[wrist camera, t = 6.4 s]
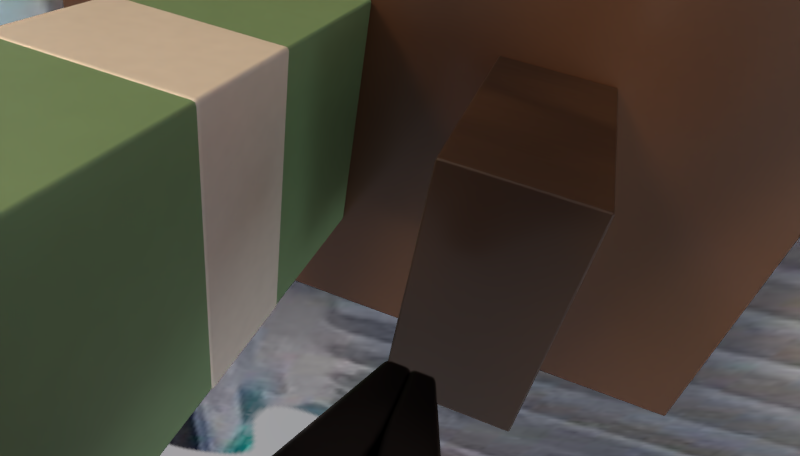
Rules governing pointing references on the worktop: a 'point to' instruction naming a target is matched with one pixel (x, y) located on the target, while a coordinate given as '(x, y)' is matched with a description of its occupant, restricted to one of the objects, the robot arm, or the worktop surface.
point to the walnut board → (662, 167)
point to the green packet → (159, 202)
